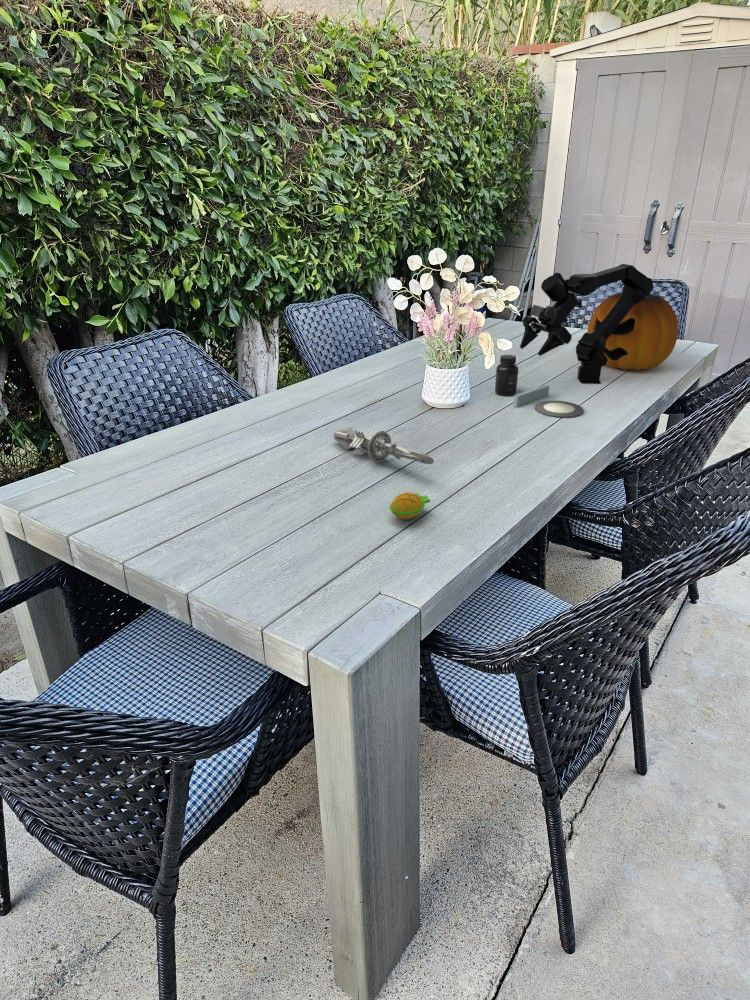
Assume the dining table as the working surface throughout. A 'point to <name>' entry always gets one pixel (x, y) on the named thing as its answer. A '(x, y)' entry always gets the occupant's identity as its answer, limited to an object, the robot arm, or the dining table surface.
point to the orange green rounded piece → (408, 505)
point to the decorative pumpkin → (639, 333)
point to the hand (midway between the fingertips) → (529, 351)
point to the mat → (559, 409)
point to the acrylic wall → (531, 396)
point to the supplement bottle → (506, 376)
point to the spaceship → (377, 446)
